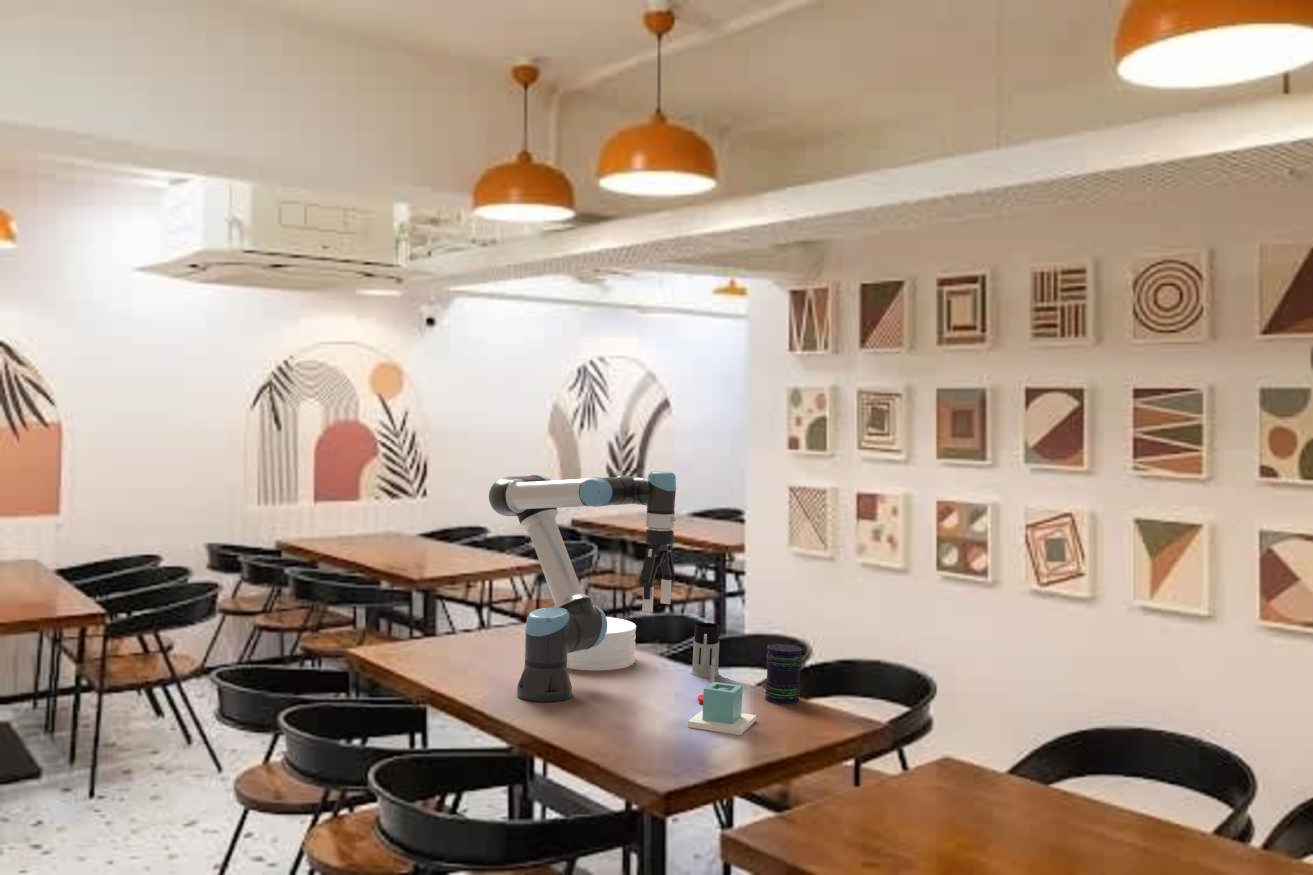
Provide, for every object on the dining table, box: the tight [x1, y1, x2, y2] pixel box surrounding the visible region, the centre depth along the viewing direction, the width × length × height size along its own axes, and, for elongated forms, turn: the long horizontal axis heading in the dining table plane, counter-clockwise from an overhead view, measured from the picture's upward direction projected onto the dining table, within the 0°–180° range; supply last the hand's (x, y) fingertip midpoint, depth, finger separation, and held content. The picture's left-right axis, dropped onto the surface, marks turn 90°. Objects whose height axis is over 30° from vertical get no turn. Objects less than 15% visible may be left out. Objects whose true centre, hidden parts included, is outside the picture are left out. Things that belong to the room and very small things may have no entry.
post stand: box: [687, 688, 757, 736], centre depth 278 cm, size 14×14×9 cm
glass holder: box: [690, 622, 720, 678], centre depth 328 cm, size 9×14×15 cm, turn 174°
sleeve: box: [702, 681, 743, 724], centre depth 278 cm, size 8×8×8 cm
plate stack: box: [567, 616, 637, 671], centre depth 342 cm, size 28×28×12 cm
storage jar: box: [764, 643, 803, 706], centre depth 304 cm, size 10×10×15 cm
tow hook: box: [697, 658, 716, 705], centre depth 300 cm, size 8×13×9 cm
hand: (656, 607), depth 291 cm, fingers open, 13 cm apart
